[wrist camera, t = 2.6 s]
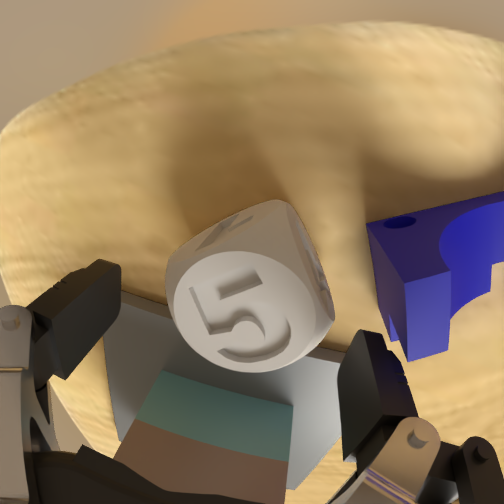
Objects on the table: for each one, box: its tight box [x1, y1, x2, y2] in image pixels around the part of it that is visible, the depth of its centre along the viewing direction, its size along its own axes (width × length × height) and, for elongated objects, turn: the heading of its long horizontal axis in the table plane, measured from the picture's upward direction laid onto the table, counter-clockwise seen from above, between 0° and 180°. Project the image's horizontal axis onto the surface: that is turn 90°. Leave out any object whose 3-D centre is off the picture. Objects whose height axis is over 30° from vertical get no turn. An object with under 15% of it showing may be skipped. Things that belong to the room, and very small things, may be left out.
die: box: [165, 199, 335, 372], centre depth 12 cm, size 5×5×5 cm
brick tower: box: [103, 291, 346, 504], centre depth 15 cm, size 16×16×9 cm
